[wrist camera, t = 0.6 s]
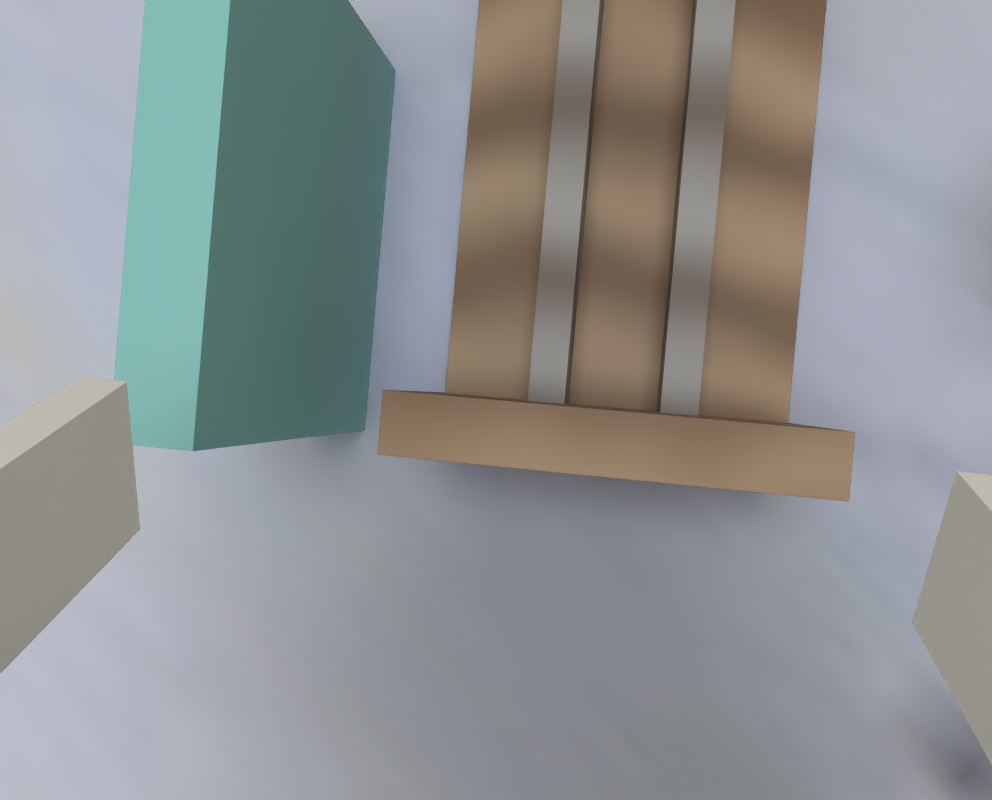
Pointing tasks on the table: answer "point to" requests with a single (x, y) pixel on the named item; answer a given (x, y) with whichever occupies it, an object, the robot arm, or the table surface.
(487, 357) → the wooden rack
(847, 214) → the table surface
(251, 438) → the door panel
